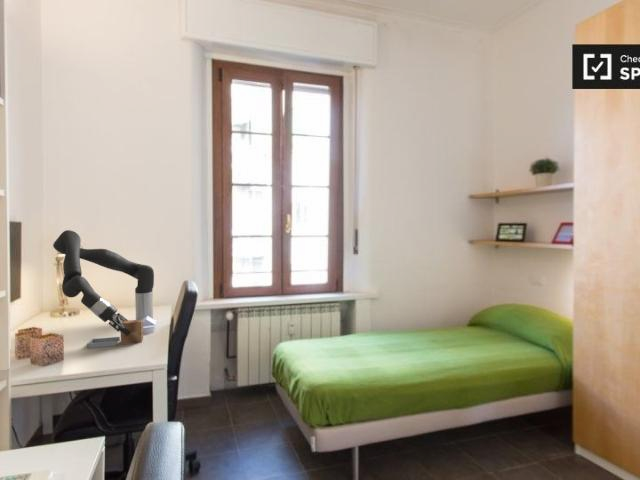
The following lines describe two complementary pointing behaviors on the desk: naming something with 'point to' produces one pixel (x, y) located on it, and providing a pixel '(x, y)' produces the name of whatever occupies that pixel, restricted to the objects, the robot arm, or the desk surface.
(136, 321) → the walnut block
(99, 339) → the grey open-top box
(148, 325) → the wedge on round base
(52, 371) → the desk surface
